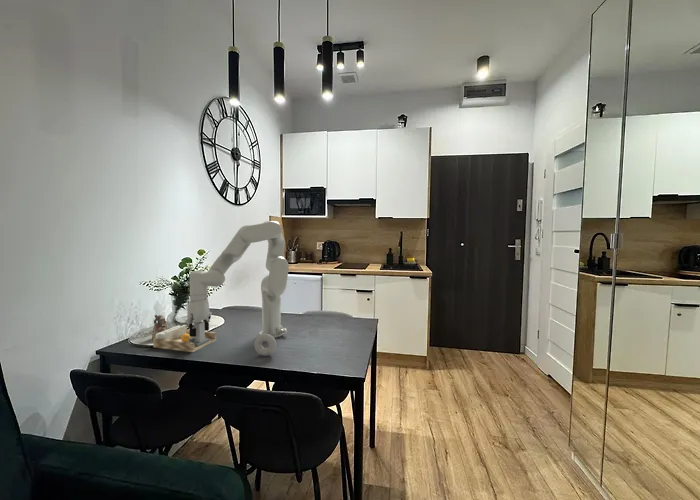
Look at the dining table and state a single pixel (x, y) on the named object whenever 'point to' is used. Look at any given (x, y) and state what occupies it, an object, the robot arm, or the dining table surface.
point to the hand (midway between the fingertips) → (199, 333)
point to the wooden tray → (182, 343)
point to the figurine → (159, 325)
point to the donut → (261, 349)
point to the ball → (185, 337)
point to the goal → (172, 332)
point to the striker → (199, 335)
